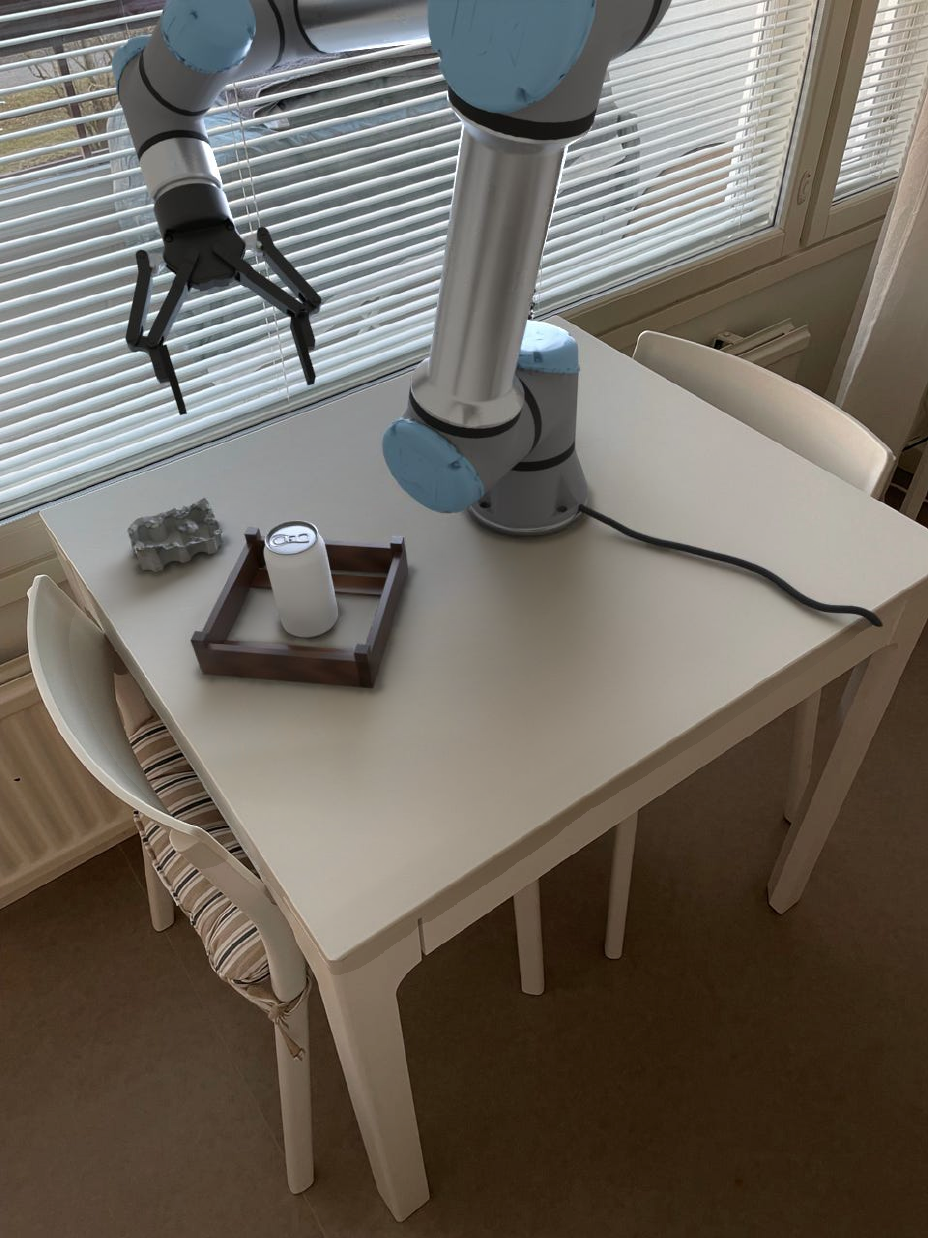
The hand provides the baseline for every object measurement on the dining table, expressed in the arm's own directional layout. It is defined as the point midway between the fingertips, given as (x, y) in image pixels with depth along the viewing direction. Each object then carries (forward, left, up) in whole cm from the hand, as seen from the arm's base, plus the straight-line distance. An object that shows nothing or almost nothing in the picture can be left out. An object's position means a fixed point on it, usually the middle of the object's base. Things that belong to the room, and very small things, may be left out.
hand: (248, 396), depth 97 cm
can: (-5, +9, -23) cm, 25 cm away
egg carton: (+15, -2, -23) cm, 27 cm away
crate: (-5, +9, -23) cm, 25 cm away
